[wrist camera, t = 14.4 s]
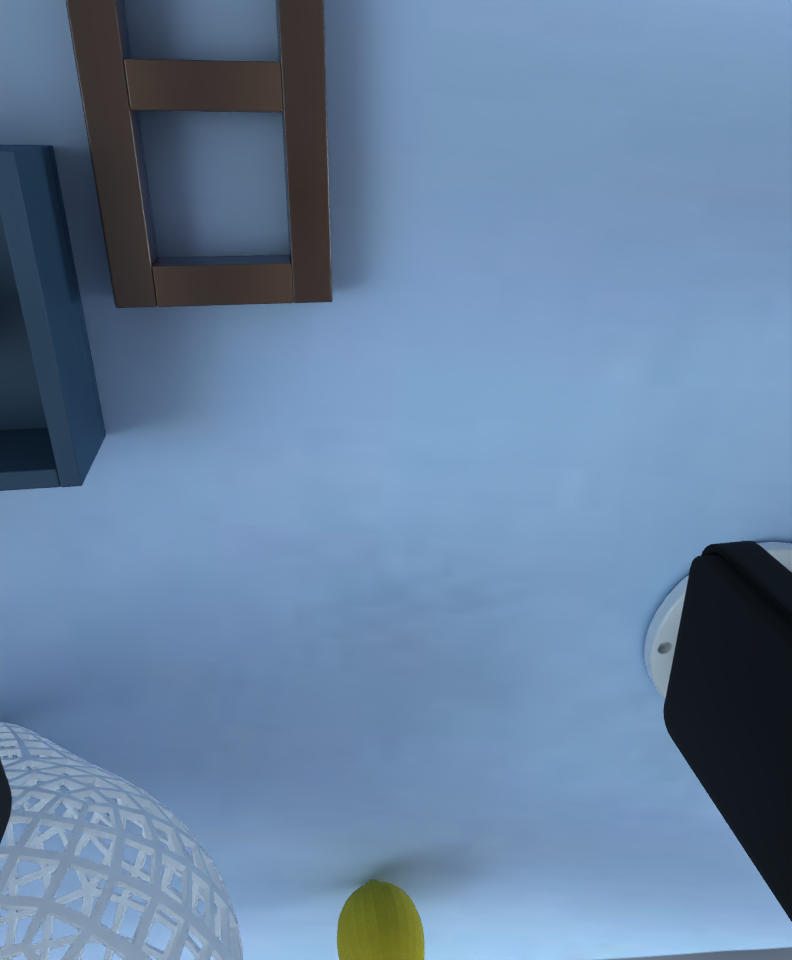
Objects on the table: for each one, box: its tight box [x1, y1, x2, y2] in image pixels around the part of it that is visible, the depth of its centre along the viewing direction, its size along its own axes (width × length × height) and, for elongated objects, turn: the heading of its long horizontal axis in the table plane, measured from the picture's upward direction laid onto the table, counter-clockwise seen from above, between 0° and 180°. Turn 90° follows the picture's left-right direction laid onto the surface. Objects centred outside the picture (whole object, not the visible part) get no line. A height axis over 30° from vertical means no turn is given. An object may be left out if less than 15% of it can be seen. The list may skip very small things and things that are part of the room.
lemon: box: [337, 880, 424, 960], centre depth 46 cm, size 6×6×8 cm
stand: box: [66, 0, 332, 308], centre depth 27 cm, size 9×16×2 cm, turn 179°
